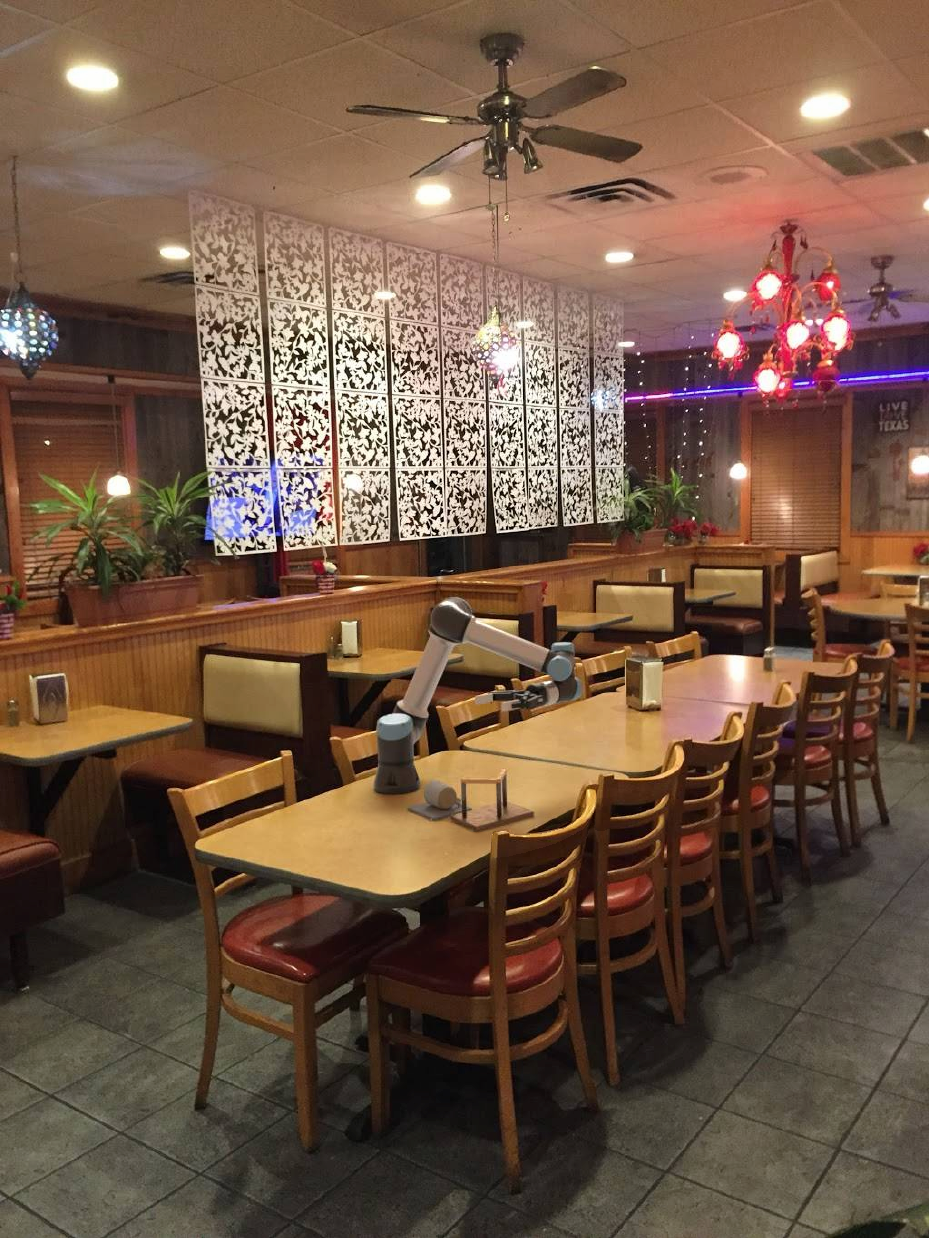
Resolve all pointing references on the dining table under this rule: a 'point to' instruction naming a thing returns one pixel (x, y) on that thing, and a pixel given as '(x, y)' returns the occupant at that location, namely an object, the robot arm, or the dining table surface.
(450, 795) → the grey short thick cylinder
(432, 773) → the dining table surface
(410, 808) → the rubber mat
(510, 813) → the bent rail stand
